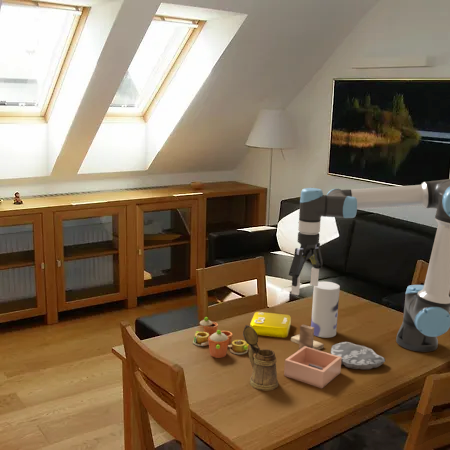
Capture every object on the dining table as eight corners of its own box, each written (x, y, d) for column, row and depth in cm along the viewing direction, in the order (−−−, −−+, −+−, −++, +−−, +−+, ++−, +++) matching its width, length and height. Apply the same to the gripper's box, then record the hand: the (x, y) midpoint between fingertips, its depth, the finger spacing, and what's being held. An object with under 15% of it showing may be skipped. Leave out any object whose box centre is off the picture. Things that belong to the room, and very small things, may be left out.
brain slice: (317, 358, 208) (318, 350, 208) (347, 346, 219) (348, 339, 218) (362, 379, 194) (362, 371, 193) (391, 365, 205) (392, 357, 204)
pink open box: (340, 373, 197) (341, 357, 195) (322, 389, 186) (323, 372, 184) (303, 361, 205) (304, 346, 203) (283, 376, 193) (284, 359, 192)
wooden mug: (252, 370, 197) (254, 321, 193) (283, 384, 188) (286, 333, 184) (234, 379, 190) (236, 328, 186) (266, 394, 181) (268, 341, 177)
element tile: (287, 339, 224) (287, 327, 223) (248, 334, 227) (249, 323, 226) (290, 324, 239) (291, 313, 238) (254, 320, 242) (255, 310, 241)
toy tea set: (253, 353, 210) (255, 329, 208) (218, 364, 202) (219, 338, 199) (213, 329, 231) (214, 306, 229) (180, 337, 222) (180, 314, 220)
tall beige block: (312, 358, 207) (314, 327, 204) (309, 360, 206) (311, 329, 203) (300, 355, 210) (302, 324, 207) (298, 357, 208) (300, 326, 205)
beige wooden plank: (323, 349, 217) (323, 344, 216) (316, 352, 214) (316, 347, 213) (298, 339, 225) (298, 334, 225) (290, 342, 222) (291, 337, 221)
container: (338, 338, 225) (341, 289, 221) (312, 337, 226) (315, 288, 221) (333, 328, 235) (337, 281, 231) (309, 327, 235) (312, 280, 231)
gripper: (316, 225, 216) (312, 279, 220) (280, 236, 196) (277, 295, 201) (334, 228, 211) (330, 283, 216) (300, 240, 192) (296, 300, 196)
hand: (304, 289), depth 208 cm, fingers open, 13 cm apart
